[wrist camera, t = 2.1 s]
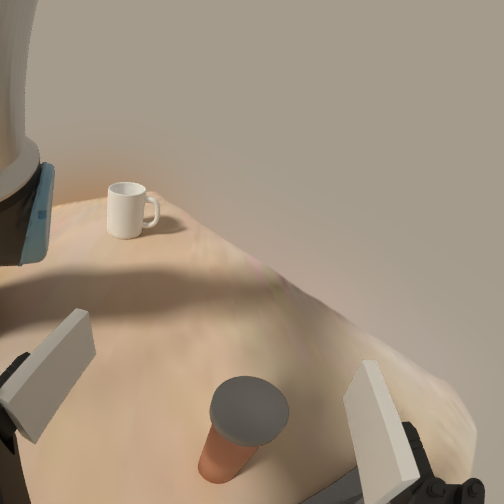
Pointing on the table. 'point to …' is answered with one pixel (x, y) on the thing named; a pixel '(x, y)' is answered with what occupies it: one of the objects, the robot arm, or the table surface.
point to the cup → (128, 210)
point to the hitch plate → (341, 491)
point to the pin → (240, 425)
